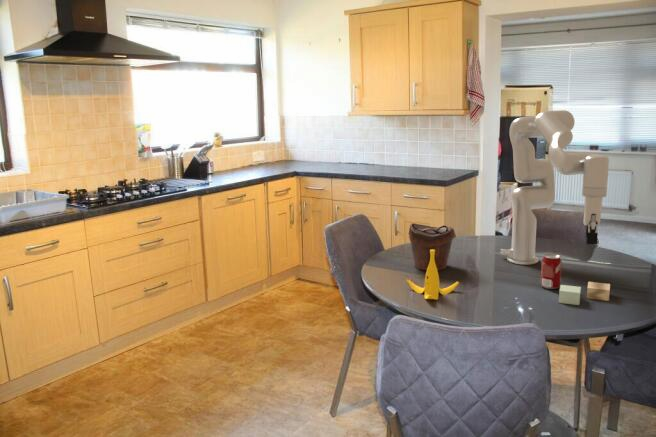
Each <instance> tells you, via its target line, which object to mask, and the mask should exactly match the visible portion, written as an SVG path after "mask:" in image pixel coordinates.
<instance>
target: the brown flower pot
mask: <svg viewBox="0 0 656 437" xmlns="http://www.w3.org/2000/svg"><path fill="white" fill-rule="evenodd" d="M408 228H409V230H408V239H409V241H410V248H411V252H412V258H413V262H414V266H415V268H417V269H419V270H421V271H427V268H428V266H429V263H430V250H435V254H434V260H435V264H436V267H437V271H441V270H445V269H446V268H447V267H448V266H447V265H448V262H449V257H450V252H451V248H452V244H453V239H455V238H456V237H457V235H456V232H455V230H454V228H453V227H451V226H450V227H448V226H447V225H442V226H440V227H437V226H430V225H425V224H418V223H413V222H412V223H410V225H409V227H408Z"/></svg>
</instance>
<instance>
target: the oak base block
mask: <svg viewBox="0 0 656 437" xmlns="http://www.w3.org/2000/svg"><path fill="white" fill-rule="evenodd" d="M610 289H611V284H610V283H604V282H596V281H595V282H594V281H588V282H587V290H586V299H591V300H601V301H606V302H607V301H610V291H611V290H610Z"/></svg>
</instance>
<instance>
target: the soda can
mask: <svg viewBox="0 0 656 437" xmlns="http://www.w3.org/2000/svg"><path fill="white" fill-rule="evenodd" d="M562 264H563V261H562V259H561V255H559V254H558V253H557V254H556V253H545V254H544V255H543V258H542V259H541V273H540V274H541V275H540V286H541V287H543V288H544V289H546V290H556V289H560V285H561V281H562V279H561V278H562V268H563V267H562Z"/></svg>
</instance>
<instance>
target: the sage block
mask: <svg viewBox="0 0 656 437" xmlns="http://www.w3.org/2000/svg"><path fill="white" fill-rule="evenodd" d="M581 290H582V287H581V286H578V285H577V286H575V285H568V284H560V287H559V292H558V293H559V294H558V303H560V304H566V305H567V304H568V305H575V306H576V305H577V306H579V305H580V303H581V302H580V301H581Z"/></svg>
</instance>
